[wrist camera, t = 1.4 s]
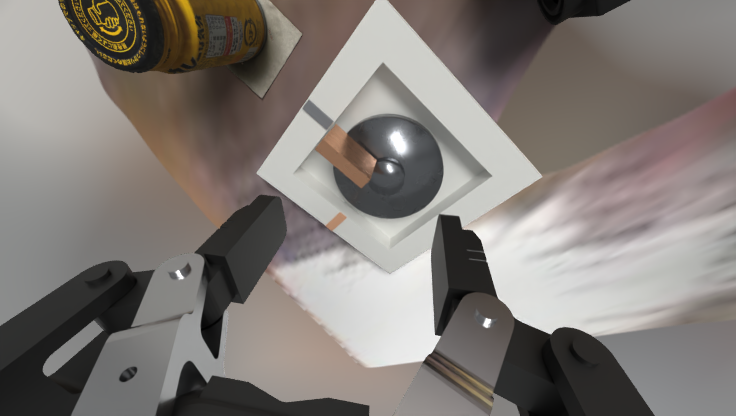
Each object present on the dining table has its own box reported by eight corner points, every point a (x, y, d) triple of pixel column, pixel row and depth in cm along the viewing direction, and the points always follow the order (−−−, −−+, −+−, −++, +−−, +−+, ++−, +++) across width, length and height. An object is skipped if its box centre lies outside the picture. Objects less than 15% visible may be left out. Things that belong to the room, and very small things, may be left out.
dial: (466, 168, 27) (476, 199, 22) (389, 226, 32) (384, 262, 27) (374, 76, 23) (363, 89, 18) (307, 159, 29) (284, 186, 24)
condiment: (216, -54, 21) (33, -128, 11) (303, 34, 23) (216, 39, 13) (186, 29, 24) (28, 29, 15) (263, 97, 27) (172, 138, 17)
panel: (533, 165, 26) (543, 177, 24) (391, 260, 36) (389, 275, 34) (384, -4, 21) (380, -8, 19) (267, 163, 31) (255, 174, 29)
